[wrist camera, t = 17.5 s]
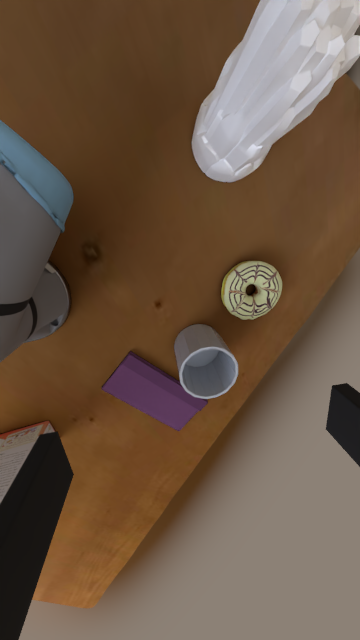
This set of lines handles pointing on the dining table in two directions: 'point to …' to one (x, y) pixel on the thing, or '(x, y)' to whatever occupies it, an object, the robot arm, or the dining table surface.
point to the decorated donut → (264, 294)
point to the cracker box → (17, 451)
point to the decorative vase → (273, 81)
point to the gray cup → (204, 362)
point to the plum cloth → (153, 392)
